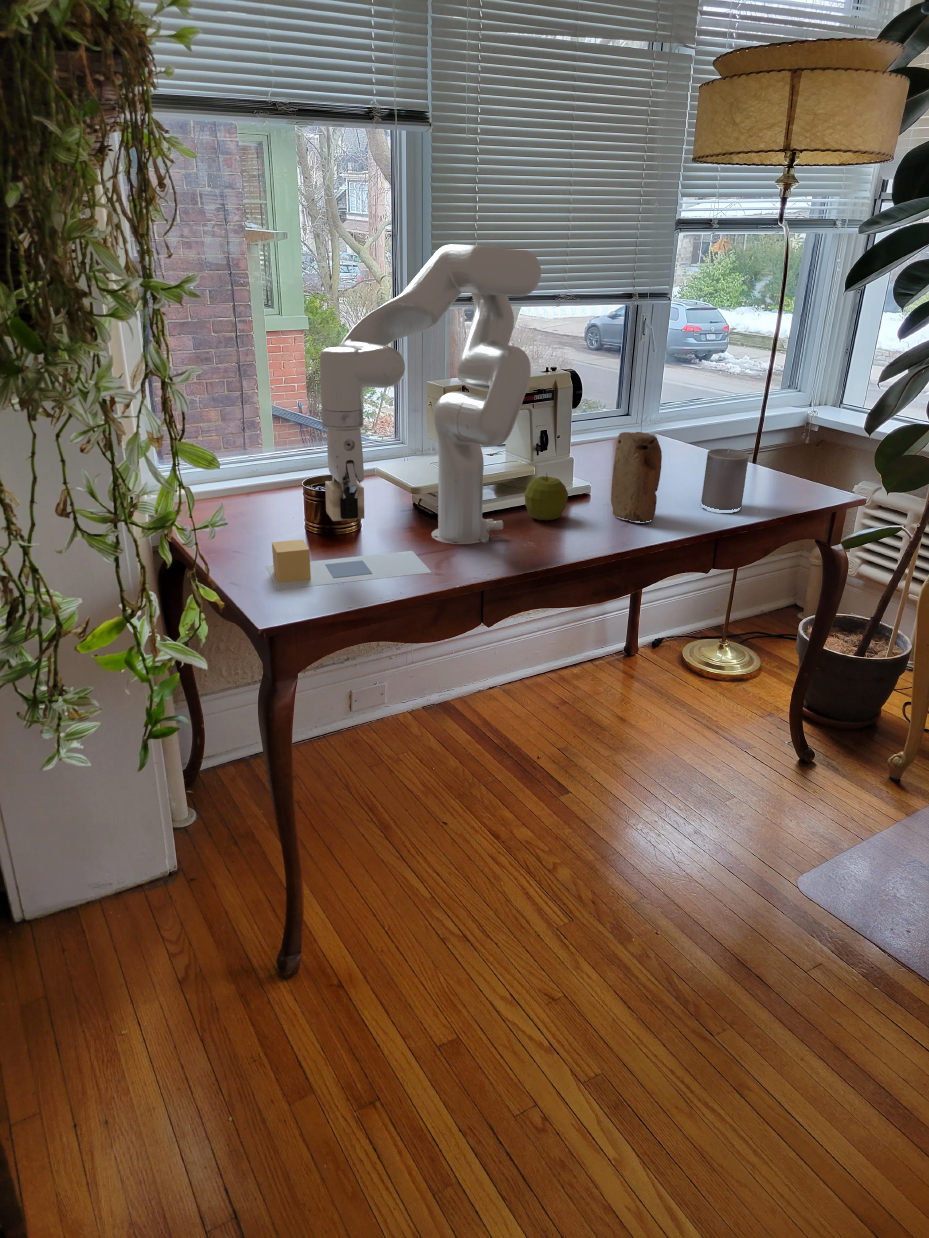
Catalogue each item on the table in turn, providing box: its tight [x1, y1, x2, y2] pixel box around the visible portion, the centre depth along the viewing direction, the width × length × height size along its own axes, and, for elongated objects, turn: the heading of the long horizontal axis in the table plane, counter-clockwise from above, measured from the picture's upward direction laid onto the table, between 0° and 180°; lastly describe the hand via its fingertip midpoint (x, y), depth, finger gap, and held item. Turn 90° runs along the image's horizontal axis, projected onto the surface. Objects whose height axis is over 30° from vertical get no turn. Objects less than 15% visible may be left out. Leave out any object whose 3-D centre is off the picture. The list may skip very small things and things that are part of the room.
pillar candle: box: [700, 447, 750, 510], centre depth 223 cm, size 10×10×15 cm
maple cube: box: [324, 480, 365, 522], centre depth 174 cm, size 6×6×6 cm
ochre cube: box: [271, 538, 311, 583], centre depth 176 cm, size 6×6×6 cm
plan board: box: [265, 550, 433, 591], centre depth 180 cm, size 30×13×1 cm, turn 110°
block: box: [610, 431, 663, 522], centre depth 213 cm, size 11×8×20 cm
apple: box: [524, 473, 569, 522], centre depth 214 cm, size 10×10×11 cm
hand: (345, 512), depth 175 cm, fingers closed on maple cube, 5 cm apart
